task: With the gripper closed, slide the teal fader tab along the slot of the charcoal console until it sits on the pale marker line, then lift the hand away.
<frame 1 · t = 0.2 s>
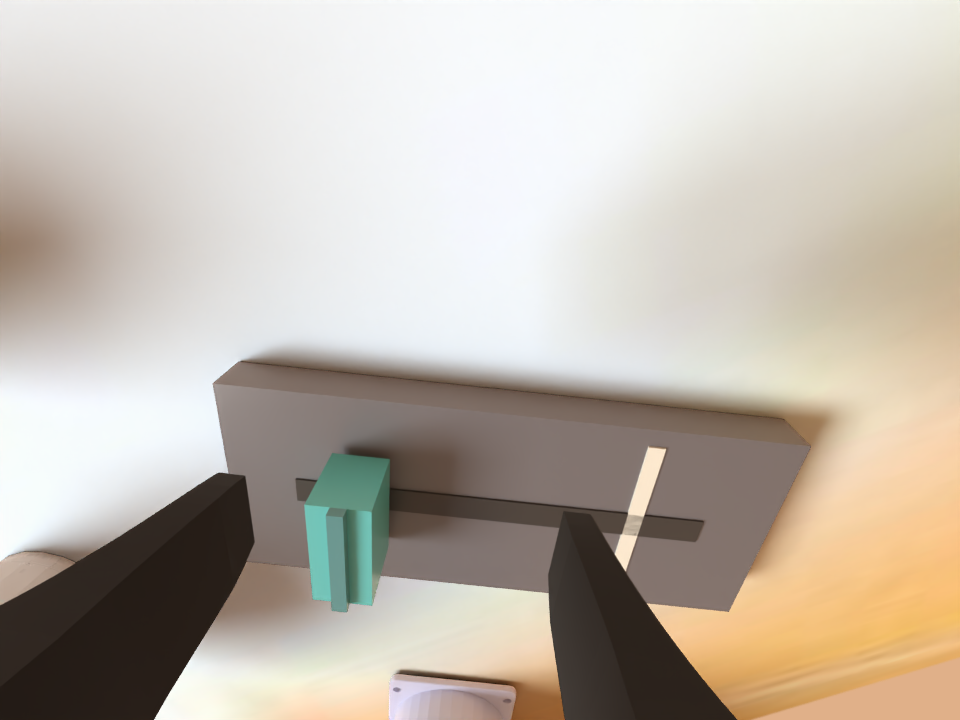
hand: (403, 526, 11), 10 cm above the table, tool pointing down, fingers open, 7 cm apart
coffee cup: (61, 591, 28), on the table
fader tab: (350, 531, 19), point 4 cm above the table, slide at 0.0 cm
fader console: (498, 479, 22), on the table
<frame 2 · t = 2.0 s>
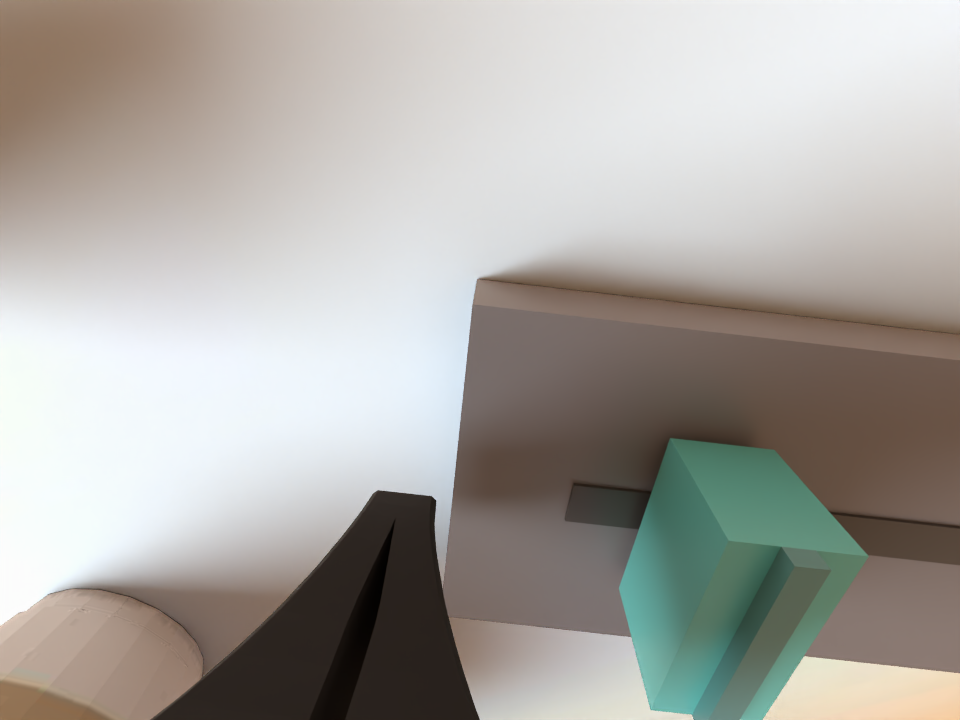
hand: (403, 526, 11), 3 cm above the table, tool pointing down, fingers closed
coffee cup: (121, 643, 19), on the table
fader tab: (718, 583, 10), point 4 cm above the table, slide at 0.0 cm
fader console: (858, 487, 14), on the table
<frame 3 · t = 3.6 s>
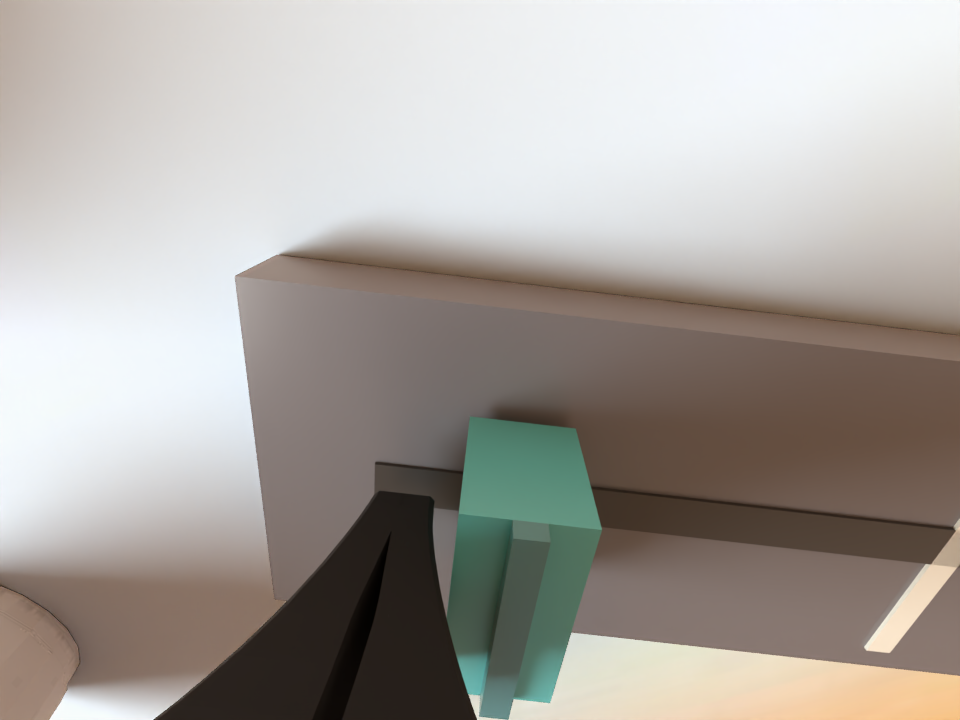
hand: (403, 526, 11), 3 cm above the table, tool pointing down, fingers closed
fader tab: (509, 563, 10), point 4 cm above the table, slide at 0.4 cm, touching gripper
fader console: (694, 470, 14), on the table
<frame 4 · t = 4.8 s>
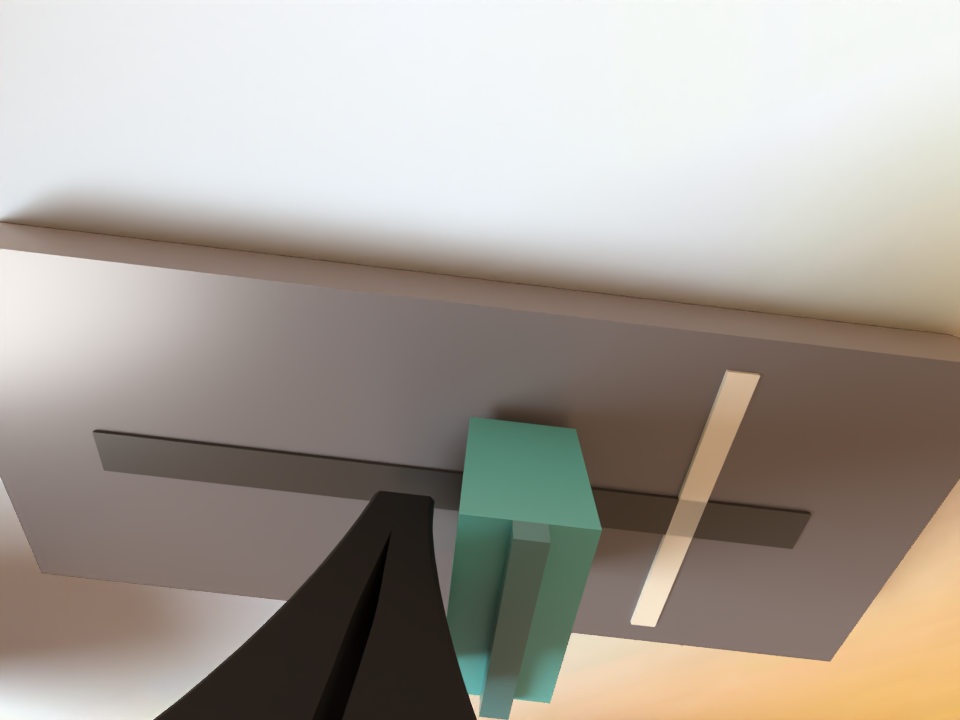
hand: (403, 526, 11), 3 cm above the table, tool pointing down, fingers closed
fader tab: (509, 563, 10), point 4 cm above the table, slide at 7.4 cm, touching gripper
fader console: (459, 443, 14), on the table
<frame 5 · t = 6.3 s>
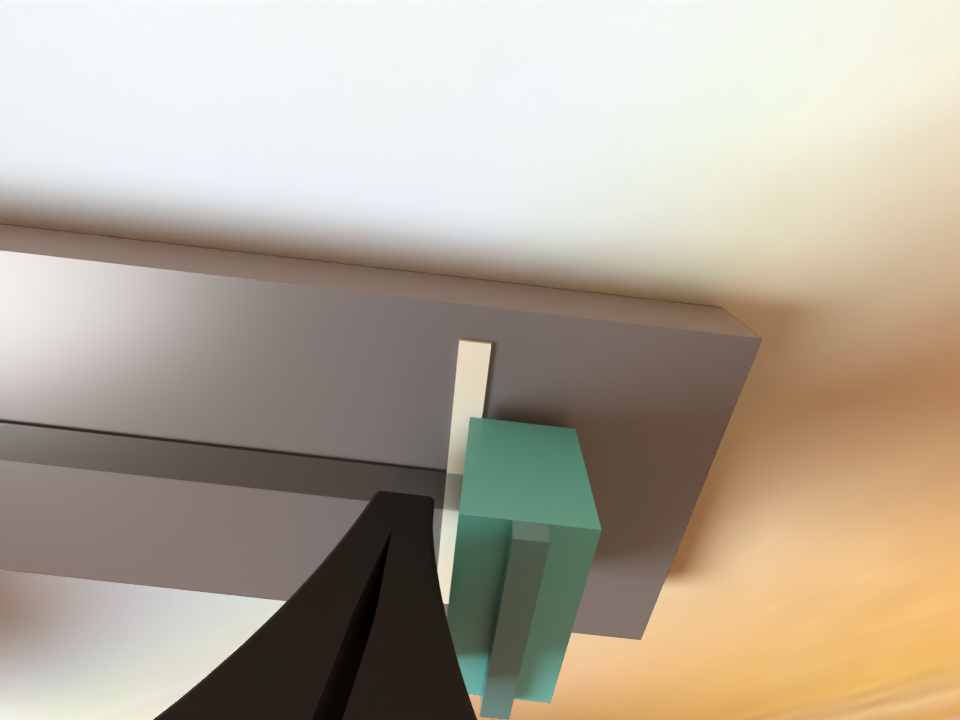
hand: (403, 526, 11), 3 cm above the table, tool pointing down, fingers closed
fader tab: (509, 563, 10), point 4 cm above the table, slide at 13.3 cm, touching gripper
fader console: (262, 421, 14), on the table
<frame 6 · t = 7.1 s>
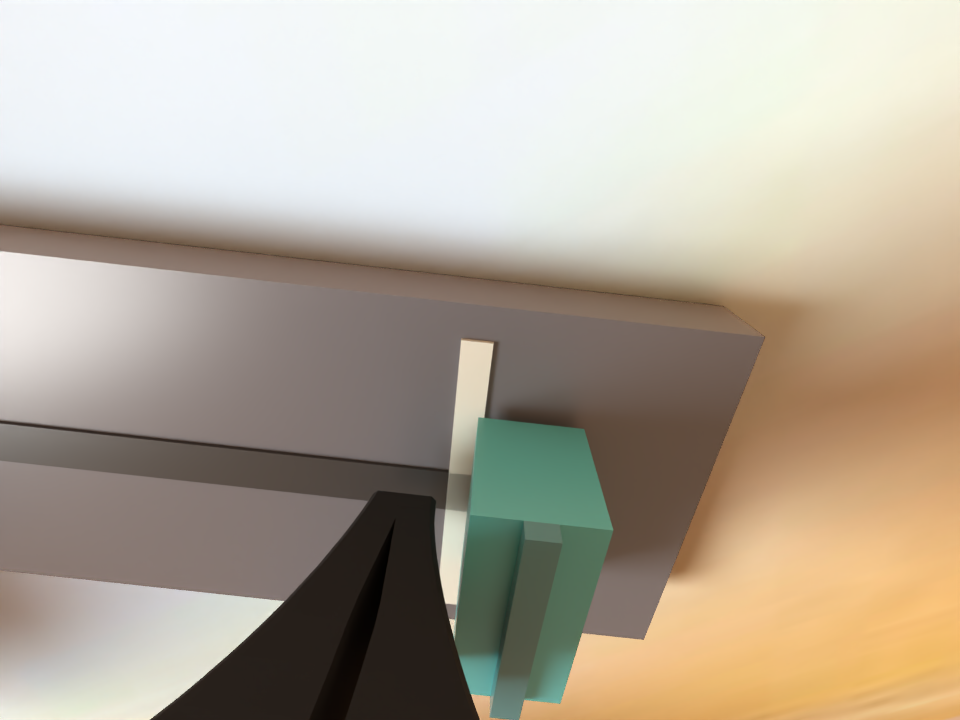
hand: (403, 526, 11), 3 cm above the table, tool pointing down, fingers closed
fader tab: (518, 564, 10), point 4 cm above the table, slide at 13.4 cm
fader console: (263, 421, 14), on the table
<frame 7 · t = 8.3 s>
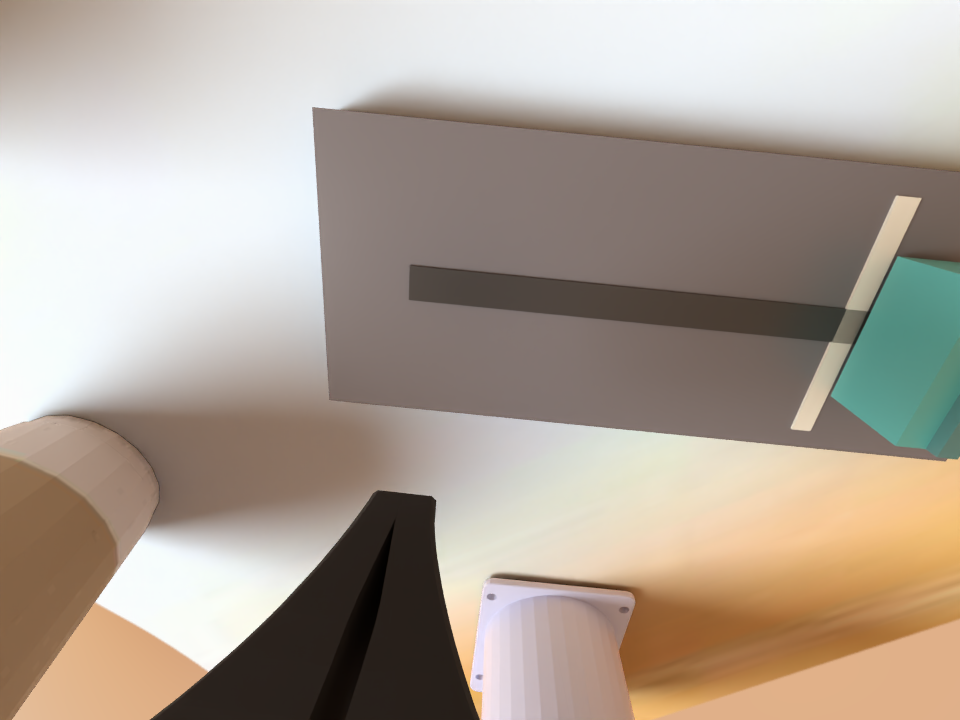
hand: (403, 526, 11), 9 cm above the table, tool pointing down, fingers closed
coffee cup: (90, 472, 23), on the table
fader tab: (941, 355, 14), point 4 cm above the table, slide at 13.4 cm
fader console: (654, 291, 18), on the table
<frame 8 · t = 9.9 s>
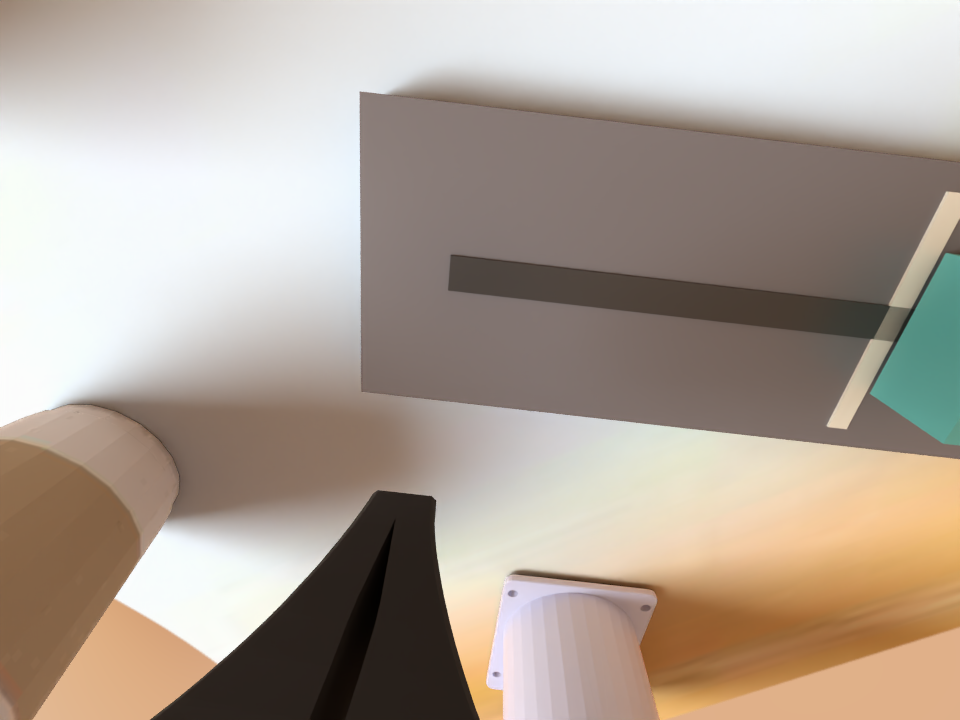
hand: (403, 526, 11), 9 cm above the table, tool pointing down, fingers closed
coffee cup: (110, 463, 23), on the table
fader console: (692, 286, 17), on the table
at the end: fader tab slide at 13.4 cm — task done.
